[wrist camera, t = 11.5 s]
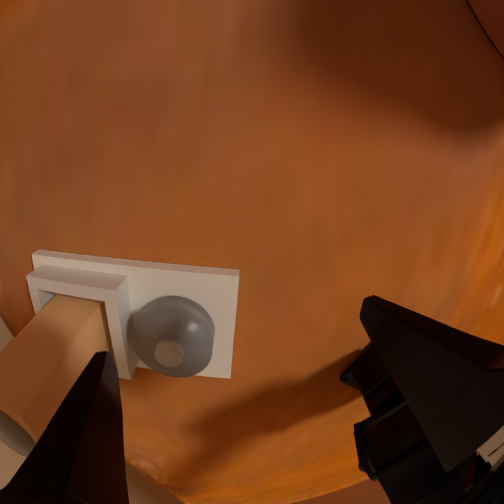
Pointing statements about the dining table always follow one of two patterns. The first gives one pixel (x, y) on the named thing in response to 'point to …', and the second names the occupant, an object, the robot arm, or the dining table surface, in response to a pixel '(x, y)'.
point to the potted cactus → (491, 20)
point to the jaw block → (47, 365)
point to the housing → (149, 309)
